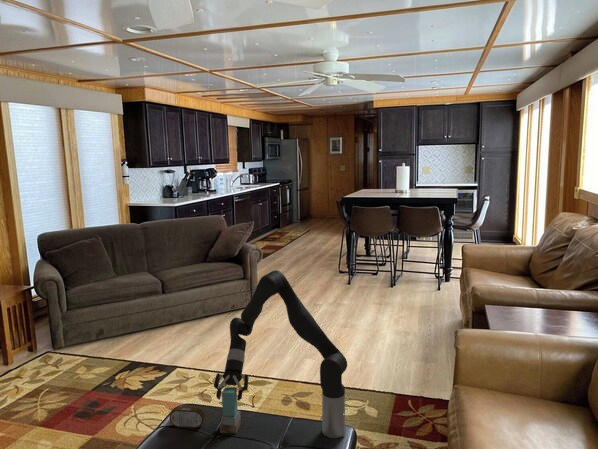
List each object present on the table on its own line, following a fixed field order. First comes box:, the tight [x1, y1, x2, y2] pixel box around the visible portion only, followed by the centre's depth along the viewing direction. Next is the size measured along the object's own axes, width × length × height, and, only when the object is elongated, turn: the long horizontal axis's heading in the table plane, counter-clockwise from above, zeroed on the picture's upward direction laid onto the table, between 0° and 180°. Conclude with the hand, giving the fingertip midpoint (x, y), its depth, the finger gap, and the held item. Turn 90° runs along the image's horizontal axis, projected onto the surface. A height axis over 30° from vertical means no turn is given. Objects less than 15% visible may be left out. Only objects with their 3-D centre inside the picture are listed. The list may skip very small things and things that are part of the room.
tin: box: [169, 405, 206, 429], centre depth 194 cm, size 15×3×8 cm, turn 84°
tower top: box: [220, 410, 242, 426], centre depth 192 cm, size 6×6×4 cm
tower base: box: [219, 419, 242, 434], centre depth 193 cm, size 7×7×4 cm
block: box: [221, 386, 239, 416], centre depth 191 cm, size 5×5×10 cm
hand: (228, 399), depth 190 cm, fingers open, 8 cm apart
